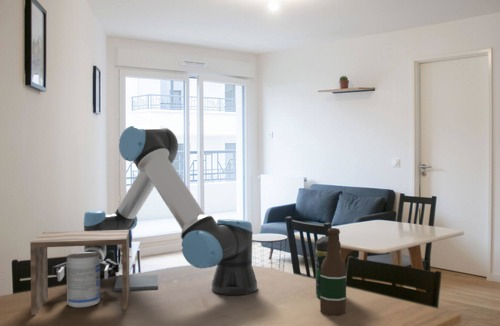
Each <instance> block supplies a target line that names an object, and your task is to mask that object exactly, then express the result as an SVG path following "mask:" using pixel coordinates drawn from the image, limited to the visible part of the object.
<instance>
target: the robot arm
mask: <svg viewBox="0 0 500 326" xmlns="http://www.w3.org/2000/svg"><path fill="white" fill-rule="evenodd" d="M178 142H179V141H178V139H177V137H176V134H175V133H174V132H173V131H172V130H171V129H170V128H168V127H164V126H152V125H151V126H150V125H149V126H148V125H140V124H137V125H132V126H128V127H126V128H125V129H124V130H123V132H121V135H120V138H119V143H118V150H119V153H120V156H121V157H122V158H123V160H125V161H128V162H131V163H132V162H133V163H134V165H135V166H136V168H137V170H138V171H139V172H138V174H137V175H136V177H135V179H134V180H133V182H132V183H131V185H130V187H129V189H128V191H127V192H126V194H125V196H124V197H123V198H122V200H121V202H120V204H119V205H118V208H117V209H116V210H115V212H114V213H113V212H112V213H108V214H107V213H106V212H105V211H104V210H101V209H96V210H93V209H92V210H88V211H86V212H84V217H83V231H107V230H129V231H131V230H133V229H135V228H136V227H137V224H138V217H137V216H138V214H139V212H140V210H141V209H142V207H143V205H144V204H145V203H146V201H147V199H148V198H149V196H150V195H151V193H152V191H153V189H154V188H155V190H156V191H157V193H158V194H159V196H160V197H161V199H162V201H163V202H164V203H165V205H166V206H167V208H168V210H169V211H170V213H171V215H172V216H173V218H174V219H175V221H176V222H177V224H178V225H179V227H180V229H181V233H180V238H181V239H182V241H181V247H182V249H181V252H182V255H183V257H184V259H185V260H186V262H187V263H188V264H189V265H191V266H192V267H194V268H196V269H197V268H198V269H207V268H208V269H209V268H213V267H216V268H215V272H214V274H213V275H214V276H213V279H212V281H211V290H212V291H213V292H214V293H217V294H221V295H227V296H238V295H239V296H240V295H247V294H252V293H254V292H256V291H257V290H258V280H257V279H256V275H255V272H254V268H253V225H252V222H251V221H249V220H241V219H230V218H228V219H227V218H219V219H217V221H216V220H215V219H214V217H213V216H212V215H208V214H206V213H204V211H203V209H202V208H201V206H200V204H199V203H198V202H197V200H196V198H195V197H194V195H193V194H192V193H191V191H190V190H189V188H188V186H187V185H186V184H185V182H184V181H183V179H182V177H181V176H180V174H179V173H178V171H177V170H176V168H175V167H174V165H173V163H174V161H175V159H176V157H177V154H178V150H179V143H178ZM107 251H108V250H107V245H96V246H83V252H95V253H98V254H99V258H100V272H104V280H108V277H109V275H112V274H113V272H114V273H119V272H120V268H119V267H120V264H119V263H117V262H115V261H113V260H112V259H111V258H107V259H105V258H106V256H107V254H108V253H107ZM66 263H67V262H66V261H65V262H63V263H59V264H57V265H54V266H52V275H53V276H55V277H57V282H61V281H62V280H63V278H64V277H65V275H67V266H66Z"/></svg>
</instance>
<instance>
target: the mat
mask: <svg viewBox="0 0 500 326" xmlns="http://www.w3.org/2000/svg"><path fill="white" fill-rule="evenodd" d="M158 280H159V279H158V274H150V275H148V274H147V275H146V274H145V275H129V291H139V290H141V291H143V290H158V289H159V283H158ZM113 289H114V290H113V291H114V292H122V276H117V277H116V280H115V284H114V287H113Z"/></svg>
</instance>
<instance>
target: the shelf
mask: <svg viewBox="0 0 500 326" xmlns="http://www.w3.org/2000/svg"><path fill="white" fill-rule="evenodd" d="M96 245H106V246H117V245H119V246H121V257H122V258H121V259H122V260H121V261H122V262H121V267H122V275H121V277H122V291H121V292H122V295H121V296H122V310H124V311H125V310H127V309H128V305H129V299H130V290H129V276H130V230H107V231H84V230H80V231H79V230H78V231H77V230H75V231H48V232H47V231H46V232H42V233H41V234H39V235H38V236H36V237H35V238H34V239H33V240H32V241H30V248H29V249H30V251H29V252H30V314H31V316H37V314H38V313H39V311H40V310H41V308H42V307H43V305H44V304H45V302H46V301H47V299H48V298H49V286H48V285H49V280H48V279H49V278H48V277H49V276H48V275H49V274H48V271H49V269H48V265H49V264H48V248H62V247H63V248H64V247H84V246H96Z"/></svg>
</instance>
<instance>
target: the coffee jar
mask: <svg viewBox="0 0 500 326" xmlns="http://www.w3.org/2000/svg"><path fill="white" fill-rule="evenodd" d="M339 246H340V256H341V257H342V254H341V252H342V251H341V250H342V249H341V247H342V246H341V241H340V240H339ZM327 248H328V236H321V237H320V238H318V239H316V241H315V295H316V296H317V297H318V298H320V278H321V265H322V262H323V260H324V259H325V257H326V255H327Z"/></svg>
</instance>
